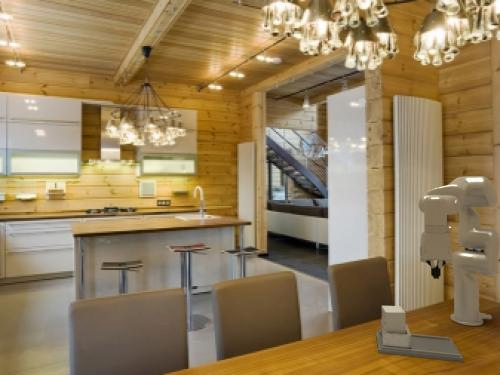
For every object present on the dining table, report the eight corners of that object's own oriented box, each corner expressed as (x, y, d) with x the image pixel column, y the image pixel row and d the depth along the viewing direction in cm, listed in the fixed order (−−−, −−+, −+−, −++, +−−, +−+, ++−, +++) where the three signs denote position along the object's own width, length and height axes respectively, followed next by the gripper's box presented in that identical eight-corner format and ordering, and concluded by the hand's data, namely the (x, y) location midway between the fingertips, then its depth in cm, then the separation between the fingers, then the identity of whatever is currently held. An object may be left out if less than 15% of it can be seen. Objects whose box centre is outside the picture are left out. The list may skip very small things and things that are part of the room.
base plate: (451, 342, 142) (451, 337, 142) (463, 362, 126) (463, 356, 126) (376, 334, 149) (376, 330, 149) (378, 352, 134) (378, 347, 134)
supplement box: (400, 337, 143) (400, 305, 143) (406, 345, 136) (405, 312, 136) (381, 336, 144) (381, 305, 144) (385, 344, 137) (385, 311, 137)
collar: (406, 335, 144) (406, 323, 144) (411, 349, 133) (411, 336, 132) (380, 333, 147) (380, 321, 147) (382, 346, 135) (382, 333, 135)
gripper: (455, 228, 137) (455, 276, 137) (412, 227, 141) (412, 274, 141) (460, 231, 129) (461, 282, 130) (415, 230, 133) (415, 279, 134)
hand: (435, 278), depth 135 cm, fingers closed
